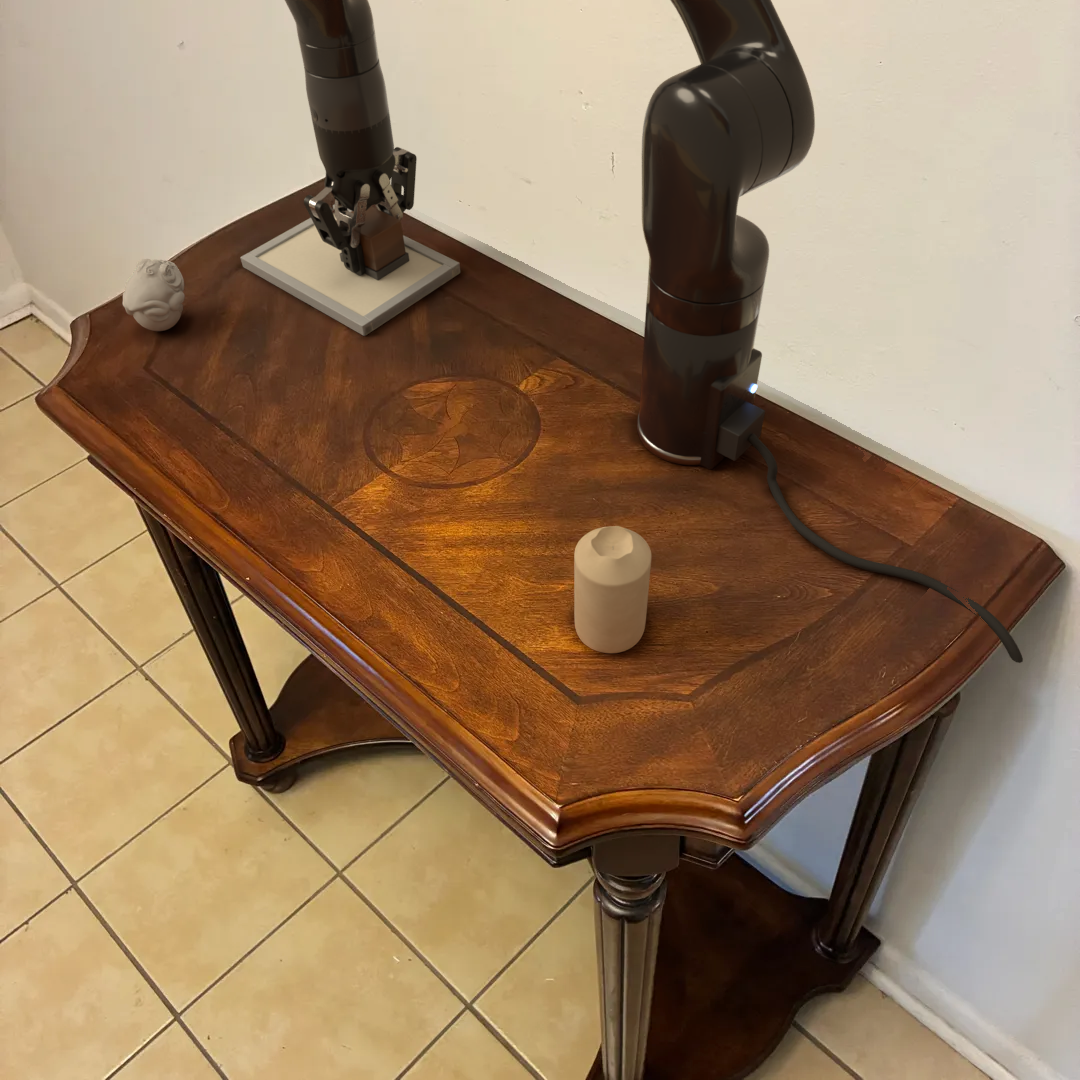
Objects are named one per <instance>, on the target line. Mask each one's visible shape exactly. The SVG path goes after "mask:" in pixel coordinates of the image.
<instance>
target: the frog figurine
mask: <svg viewBox="0 0 1080 1080" xmlns="http://www.w3.org/2000/svg"><path fill="white" fill-rule="evenodd" d="M135 265H136V268H134V270H133V271H132V273H131V274H130V276H129V277H128V279H127V280H126V282H125V284H124V291H123V293H122V307H123V308H124V309H125V312H126V314H127V315H129V316H132V317H133V318H134V320H135V321H136V322H137V324H139V326H141V327H143V328H145V329H146V330H150V331H154V332H163V331H167V330H169V329H172V328H173V327H174V326H175V325H176V324H178V322H179V320H180V318H181V316H182V312H183V311H184V304H183V303H184V302H185V300H186V299H185V298H186V295H185V293H184V291H185V279H184V277H183V274H182V272H181V271H180V269H179V268H178V267H179V266H177V265H176V264H175V262H172V261H170V260H165V259H164V260H163V259H149V258H142V259H139V260H138V261H137V262H136V264H135Z"/></svg>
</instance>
